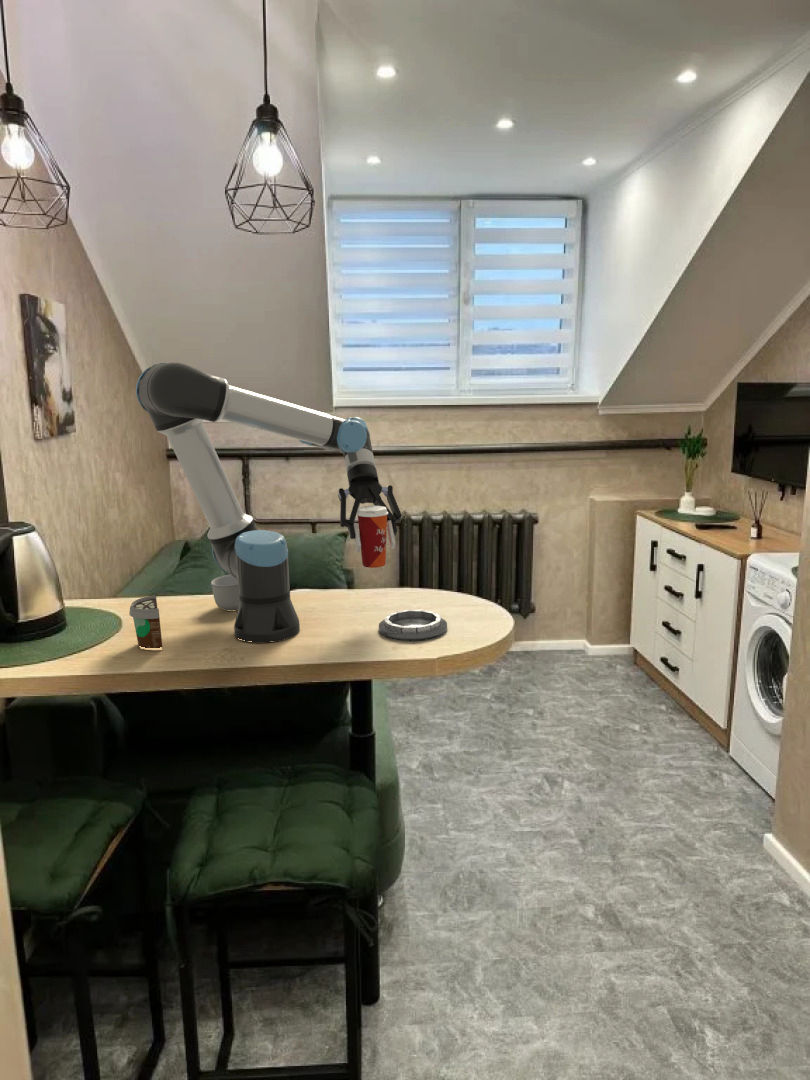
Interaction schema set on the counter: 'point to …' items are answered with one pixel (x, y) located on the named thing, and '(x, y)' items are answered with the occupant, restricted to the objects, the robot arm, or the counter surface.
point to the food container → (147, 622)
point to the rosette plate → (412, 625)
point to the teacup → (226, 592)
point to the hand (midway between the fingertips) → (376, 547)
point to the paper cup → (373, 535)
